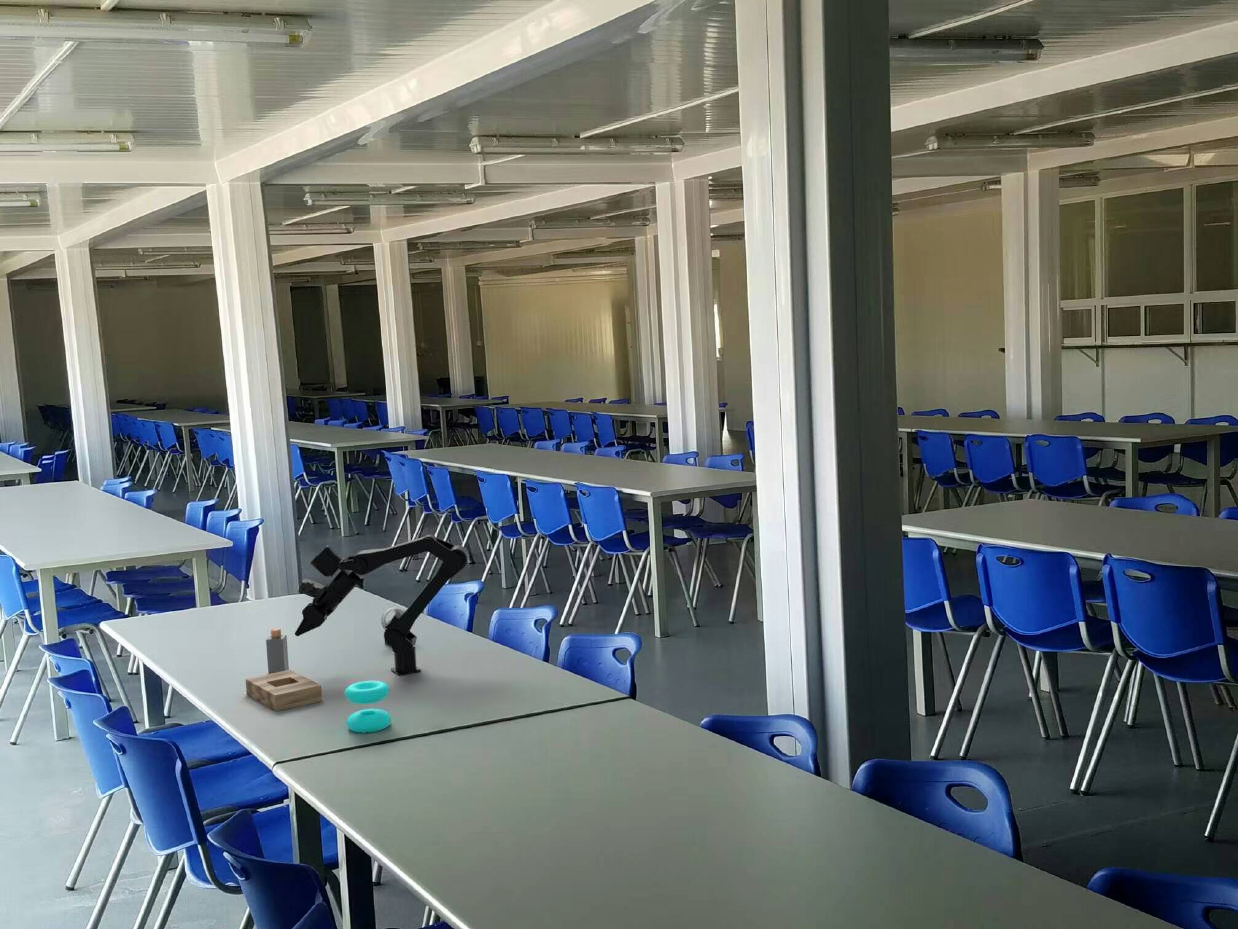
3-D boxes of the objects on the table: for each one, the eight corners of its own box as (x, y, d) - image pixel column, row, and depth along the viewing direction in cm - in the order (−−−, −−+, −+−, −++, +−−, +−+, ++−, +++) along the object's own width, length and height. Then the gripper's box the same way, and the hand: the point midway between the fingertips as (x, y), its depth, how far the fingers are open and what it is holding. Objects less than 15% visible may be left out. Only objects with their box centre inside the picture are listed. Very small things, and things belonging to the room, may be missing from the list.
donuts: (386, 677, 288) (390, 688, 279) (389, 718, 289) (393, 731, 280) (343, 682, 286) (345, 693, 276) (346, 723, 287) (348, 736, 277)
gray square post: (289, 674, 332) (286, 627, 330) (285, 679, 327) (282, 631, 326) (272, 675, 332) (269, 628, 330) (268, 680, 327) (265, 632, 326)
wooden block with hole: (322, 700, 306) (321, 685, 305) (276, 711, 299) (274, 695, 298) (291, 684, 322) (290, 669, 321) (246, 694, 315) (245, 679, 314)
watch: (413, 643, 361) (410, 606, 360) (388, 648, 356) (386, 611, 354) (403, 640, 365) (401, 604, 364) (379, 645, 360) (377, 608, 359)
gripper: (323, 562, 336) (285, 603, 337) (308, 575, 317) (268, 619, 318) (353, 589, 337) (315, 630, 338) (340, 604, 319) (300, 647, 319)
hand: (299, 631), depth 328 cm, fingers open, 9 cm apart
